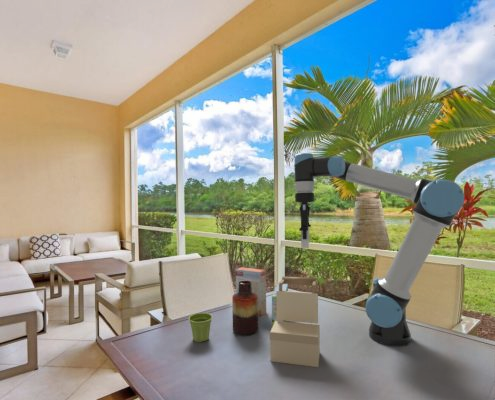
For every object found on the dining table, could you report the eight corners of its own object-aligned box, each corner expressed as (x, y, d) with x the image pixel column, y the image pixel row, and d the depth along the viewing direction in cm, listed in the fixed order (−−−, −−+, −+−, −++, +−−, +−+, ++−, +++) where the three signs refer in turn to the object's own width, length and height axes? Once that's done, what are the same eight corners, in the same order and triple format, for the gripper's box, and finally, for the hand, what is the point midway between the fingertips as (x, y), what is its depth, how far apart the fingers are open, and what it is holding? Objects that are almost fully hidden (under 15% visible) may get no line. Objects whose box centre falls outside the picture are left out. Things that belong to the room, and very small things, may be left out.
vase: (262, 333, 131) (261, 283, 130) (237, 337, 127) (237, 286, 127) (252, 323, 141) (251, 277, 141) (229, 327, 137) (228, 280, 137)
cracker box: (266, 312, 154) (266, 269, 153) (260, 316, 149) (260, 272, 148) (242, 307, 161) (242, 266, 161) (235, 311, 156) (235, 268, 156)
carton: (319, 352, 114) (319, 324, 114) (318, 367, 104) (318, 337, 104) (275, 347, 118) (275, 320, 118) (270, 361, 108) (269, 332, 108)
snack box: (284, 333, 130) (284, 297, 130) (271, 332, 131) (270, 296, 131) (288, 314, 151) (288, 283, 151) (276, 314, 152) (276, 282, 152)
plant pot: (206, 346, 120) (206, 323, 120) (184, 342, 123) (184, 320, 123) (216, 335, 129) (216, 314, 129) (196, 332, 132) (195, 311, 132)
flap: (318, 323, 114) (319, 315, 123) (317, 282, 114) (319, 277, 123) (276, 319, 117) (280, 312, 127) (276, 280, 118) (280, 275, 127)
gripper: (297, 192, 141) (298, 240, 141) (292, 192, 117) (294, 250, 117) (314, 192, 139) (315, 240, 140) (313, 191, 115) (314, 250, 115)
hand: (305, 245), depth 128 cm, fingers open, 13 cm apart
